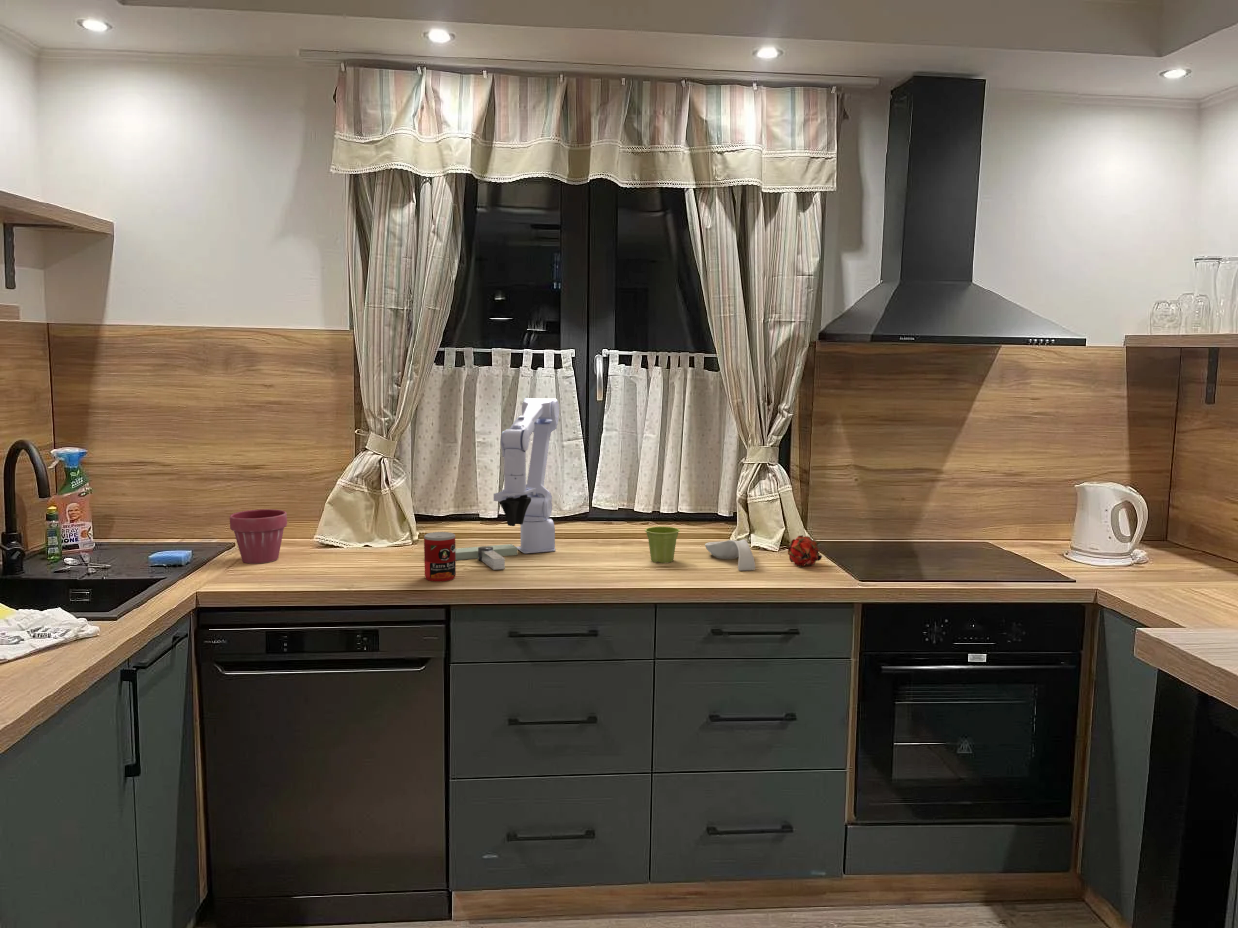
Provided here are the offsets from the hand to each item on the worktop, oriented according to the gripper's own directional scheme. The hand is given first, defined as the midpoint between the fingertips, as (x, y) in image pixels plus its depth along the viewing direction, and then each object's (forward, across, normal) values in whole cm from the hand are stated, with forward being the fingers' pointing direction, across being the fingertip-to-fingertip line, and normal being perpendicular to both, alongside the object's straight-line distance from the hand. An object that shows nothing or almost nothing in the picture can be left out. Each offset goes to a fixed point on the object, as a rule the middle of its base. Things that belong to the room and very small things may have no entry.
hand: (515, 524), depth 248 cm
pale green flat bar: (+10, +1, -15) cm, 18 cm away
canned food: (+11, +24, -4) cm, 26 cm away
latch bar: (+10, +5, -4) cm, 12 cm away
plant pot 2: (+11, -26, +30) cm, 41 cm away
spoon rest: (+11, -38, +45) cm, 60 cm away
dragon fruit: (+11, -45, +63) cm, 78 cm away
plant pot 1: (+11, +39, -57) cm, 70 cm away
